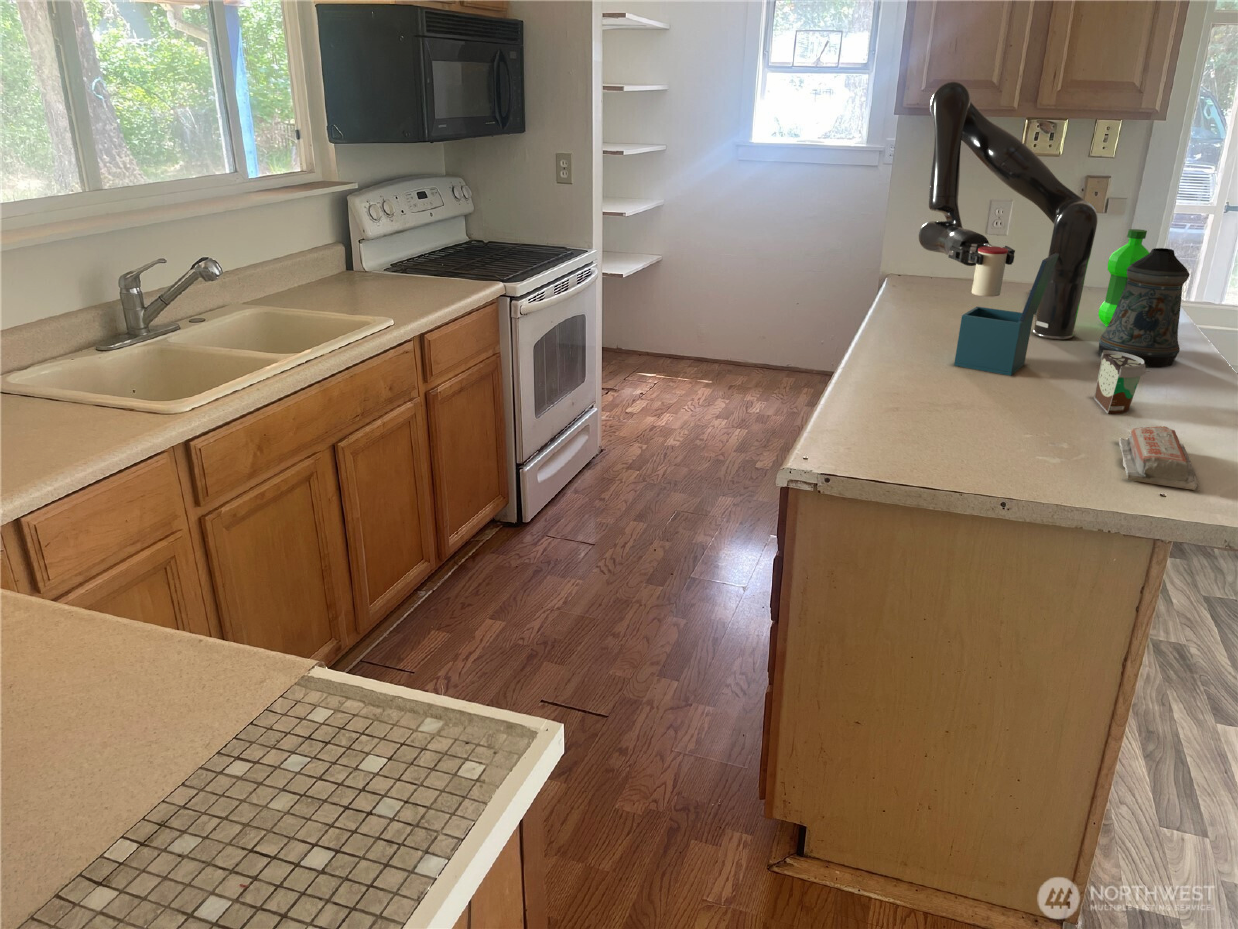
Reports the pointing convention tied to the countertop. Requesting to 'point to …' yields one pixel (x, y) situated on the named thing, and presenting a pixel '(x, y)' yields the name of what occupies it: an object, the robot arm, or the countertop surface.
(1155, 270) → the beer stein
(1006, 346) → the cool box
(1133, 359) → the food container
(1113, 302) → the plastic bottle
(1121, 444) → the packaged product
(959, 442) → the countertop surface
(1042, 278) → the cool box lid
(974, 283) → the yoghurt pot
